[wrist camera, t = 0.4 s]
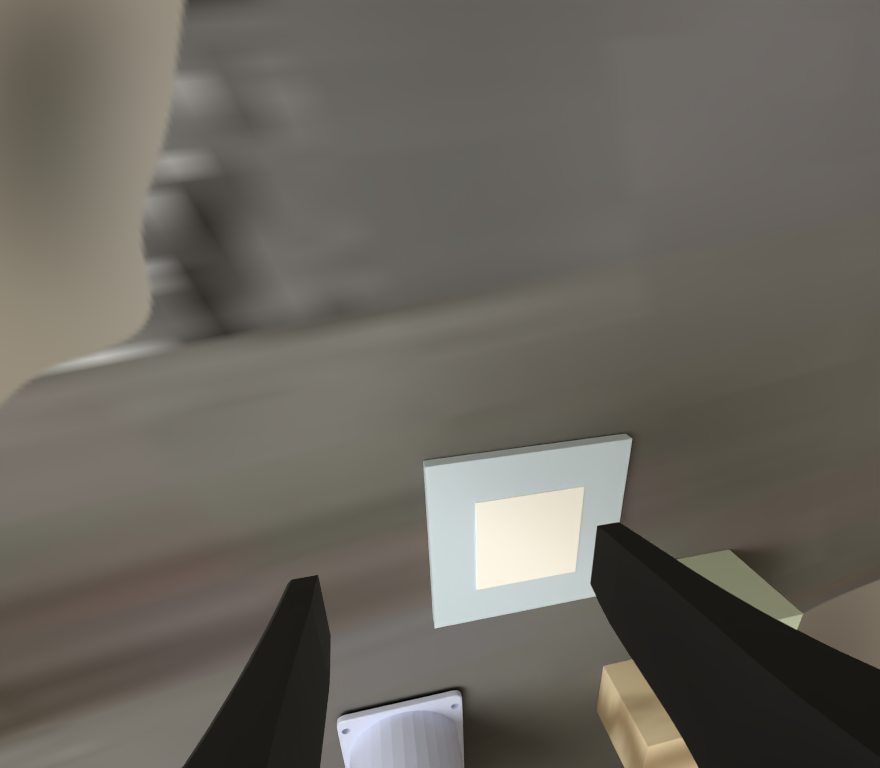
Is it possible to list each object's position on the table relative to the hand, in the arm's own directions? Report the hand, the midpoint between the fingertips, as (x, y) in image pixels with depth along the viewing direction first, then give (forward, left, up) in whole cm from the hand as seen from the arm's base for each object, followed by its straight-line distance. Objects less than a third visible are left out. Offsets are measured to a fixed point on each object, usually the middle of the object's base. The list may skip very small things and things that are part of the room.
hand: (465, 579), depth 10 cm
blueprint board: (-8, -6, -10) cm, 14 cm away
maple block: (-24, -15, -10) cm, 30 cm away
